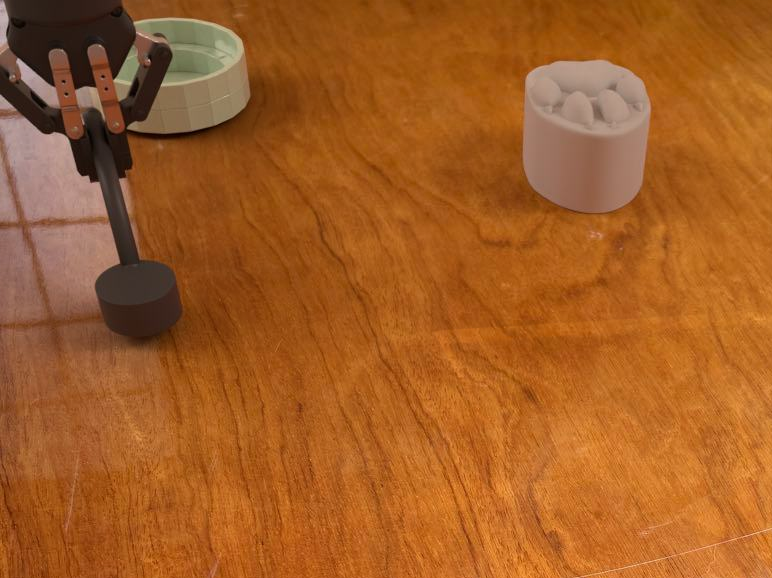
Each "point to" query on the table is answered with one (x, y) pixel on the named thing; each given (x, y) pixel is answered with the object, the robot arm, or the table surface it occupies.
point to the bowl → (190, 77)
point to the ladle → (128, 257)
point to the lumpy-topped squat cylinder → (585, 134)
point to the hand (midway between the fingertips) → (106, 174)
